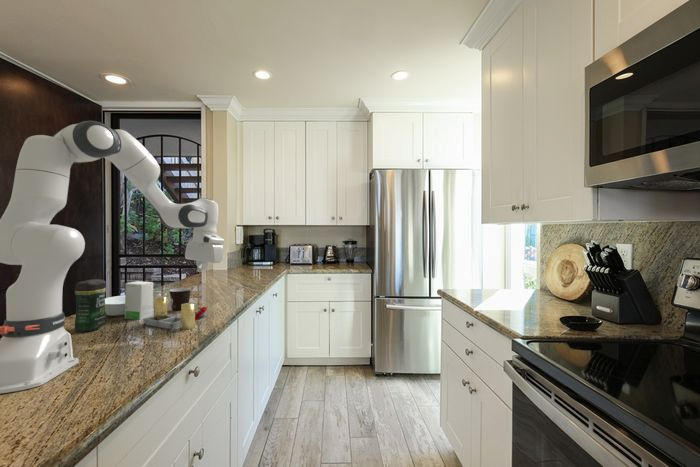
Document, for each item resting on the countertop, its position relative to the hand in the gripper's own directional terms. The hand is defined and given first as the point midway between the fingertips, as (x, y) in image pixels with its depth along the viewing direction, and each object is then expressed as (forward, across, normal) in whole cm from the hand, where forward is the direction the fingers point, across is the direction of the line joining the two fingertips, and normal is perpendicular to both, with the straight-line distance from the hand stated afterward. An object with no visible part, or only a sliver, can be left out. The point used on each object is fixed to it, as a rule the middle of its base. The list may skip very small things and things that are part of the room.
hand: (201, 272), depth 136 cm
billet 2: (+21, +9, -9) cm, 24 cm away
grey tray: (+21, -3, -10) cm, 24 cm away
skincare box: (+22, -23, -10) cm, 34 cm away
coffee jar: (+24, -25, -26) cm, 44 cm away
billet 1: (+20, -7, -11) cm, 24 cm away
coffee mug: (+20, -21, +6) cm, 30 cm away
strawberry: (+20, -1, +3) cm, 20 cm away
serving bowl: (+23, -38, -9) cm, 45 cm away
